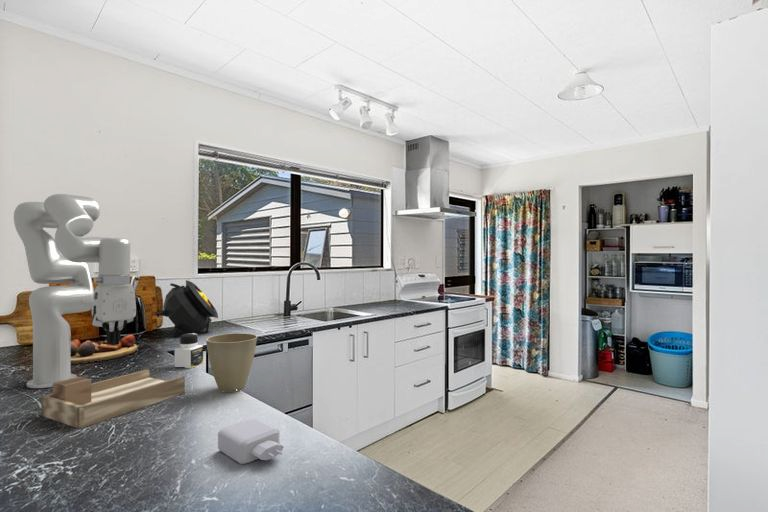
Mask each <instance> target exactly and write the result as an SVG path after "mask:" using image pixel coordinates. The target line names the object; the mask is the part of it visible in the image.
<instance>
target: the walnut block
mask: <svg viewBox="0 0 768 512" xmlns="http://www.w3.org/2000/svg"><path fill="white" fill-rule="evenodd" d="M91 384H92V378H88V377H87V378H86V377H82V376H76V377H75V378H71V379H67V380H62V381H58V382H54V383H53V387H52V394H53V397H54V398H57V399H61V400H64V401H67V402H71V403H74V404H78V405H83V404H86V403H90V402H91Z"/></svg>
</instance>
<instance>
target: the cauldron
mask: <svg viewBox="0 0 768 512" xmlns="http://www.w3.org/2000/svg"><path fill="white" fill-rule="evenodd" d="M169 286H171V287H172V288H171V289H170V290H169V291H168V293H167V294H166V295H165V298H164V303H163V310H161V311H156V312H154V313H155V316H156V317H157V318H159V317H160V316H163V317H166V318H168V320H170V321H171V322H172V324H173V325H174V327H173V332H171V335H172V336H173V337H174V338H177V334H178V333H179V332H180V331H182V332H185V333H186V332H188V333H189V332H190V333H191V332H192V333H195V332H196V333H197V332H200V331H202V330H205V333H208V331H209V328H210V324H211V323H212V320H213V319H211V318H215V319H219V314H218V311H217V309H216V308H215V306H214V305H213V304H212V302H211V301H210V299H209V298H208V297H207V295H206V294H205V293H204V292H203V291H202V290H201V289H200V288H199V287H198V286H197V285H196V284H195V283H194V282H192V281H190V280H187V279H186V280H185V285H178V284H175V283H170V284H169Z"/></svg>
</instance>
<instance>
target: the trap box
mask: <svg viewBox="0 0 768 512" xmlns="http://www.w3.org/2000/svg"><path fill="white" fill-rule="evenodd" d="M185 378H186V377H185V376H178V377H176V378H172V379H169V380H162V379H158V378H153V377H150V369H142V370H139V371H136V372H131V373H128V374H124V375H120V376H115V377H113V378H109V379H105V380H100V381H96V382H93V383H92V382H91V402H90V403H86V404H83V405H78V404H74V403H71V402H67V401H64V400H61V399H57V398H54V397H53V393H49V394H46V395H41V416H42V417H44V418H47V419H51V420H53V421H55V422H56V421H57V422H58V423H61V424H64V425H66V426H70V427H73V428H76V429H83V428H87V427H88V426H92V425H95V424H98V423H101V422H104V421H107V420H110V419H113V418H115V417H118V416H122V415H124V414H127V413H130V412H134V411H136V410H139V409H143V408H145V407H148V406H151V405H154V404H157V403H160V402H162V401H166V400H169V399H172V398H175V397H178V396H181V395H183V394H185V393H186V389H185V387H186V381H185V380H186V379H185Z"/></svg>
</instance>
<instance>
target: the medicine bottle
mask: <svg viewBox="0 0 768 512" xmlns="http://www.w3.org/2000/svg"><path fill="white" fill-rule="evenodd" d="M198 341H199V335H198V333H195V332H192V333H191V332H190V333H189V332H188V333H184V334H182V335H180V337H179V343H180V344H179V346H178V347H176V348H174V368H175V367H185V368H184V369H193V367H194V368H195V367H198V366H200V365H203V364H204V346H203V345H201V344H200V345H199V342H198Z"/></svg>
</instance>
